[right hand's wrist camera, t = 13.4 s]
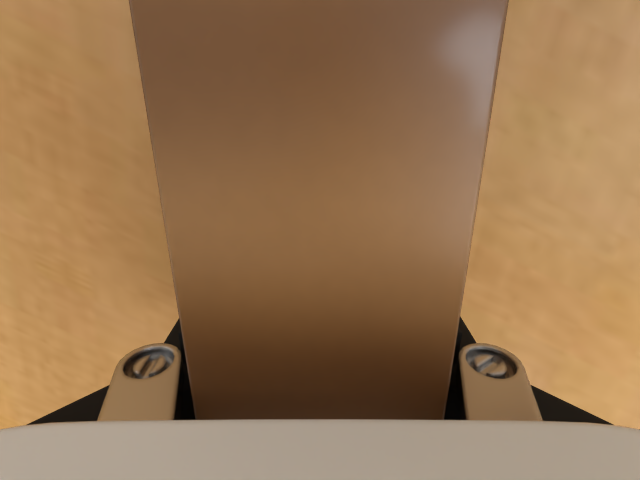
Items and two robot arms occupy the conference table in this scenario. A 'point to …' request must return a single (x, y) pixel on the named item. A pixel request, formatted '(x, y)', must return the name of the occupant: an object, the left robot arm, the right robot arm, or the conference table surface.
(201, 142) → the beam
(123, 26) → the conference table surface
